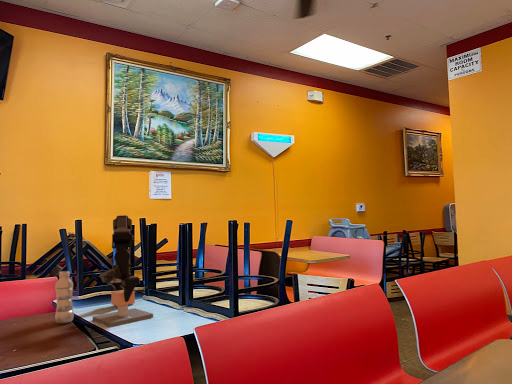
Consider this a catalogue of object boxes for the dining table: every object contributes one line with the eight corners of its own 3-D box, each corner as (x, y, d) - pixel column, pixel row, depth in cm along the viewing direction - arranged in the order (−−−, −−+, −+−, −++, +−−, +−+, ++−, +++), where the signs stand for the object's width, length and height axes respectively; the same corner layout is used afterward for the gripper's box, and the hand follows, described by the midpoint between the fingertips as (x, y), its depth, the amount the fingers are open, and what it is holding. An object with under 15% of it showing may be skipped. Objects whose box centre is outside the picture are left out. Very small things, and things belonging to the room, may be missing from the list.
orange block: (111, 304, 156) (111, 291, 156) (127, 301, 161) (127, 288, 161) (118, 306, 151) (118, 293, 152) (134, 303, 156) (134, 290, 157)
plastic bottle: (68, 324, 149) (68, 272, 150) (51, 325, 149) (51, 273, 151) (76, 320, 156) (76, 270, 157) (60, 321, 156) (60, 270, 157)
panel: (92, 320, 155) (92, 306, 155) (134, 311, 168) (134, 299, 168) (109, 327, 144) (109, 312, 144) (153, 317, 156) (152, 304, 157)
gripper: (93, 262, 158) (93, 301, 157) (112, 265, 145) (113, 307, 144) (119, 259, 166) (119, 296, 165) (140, 262, 153) (141, 302, 152)
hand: (122, 300), depth 156 cm, fingers closed on orange block, 6 cm apart
